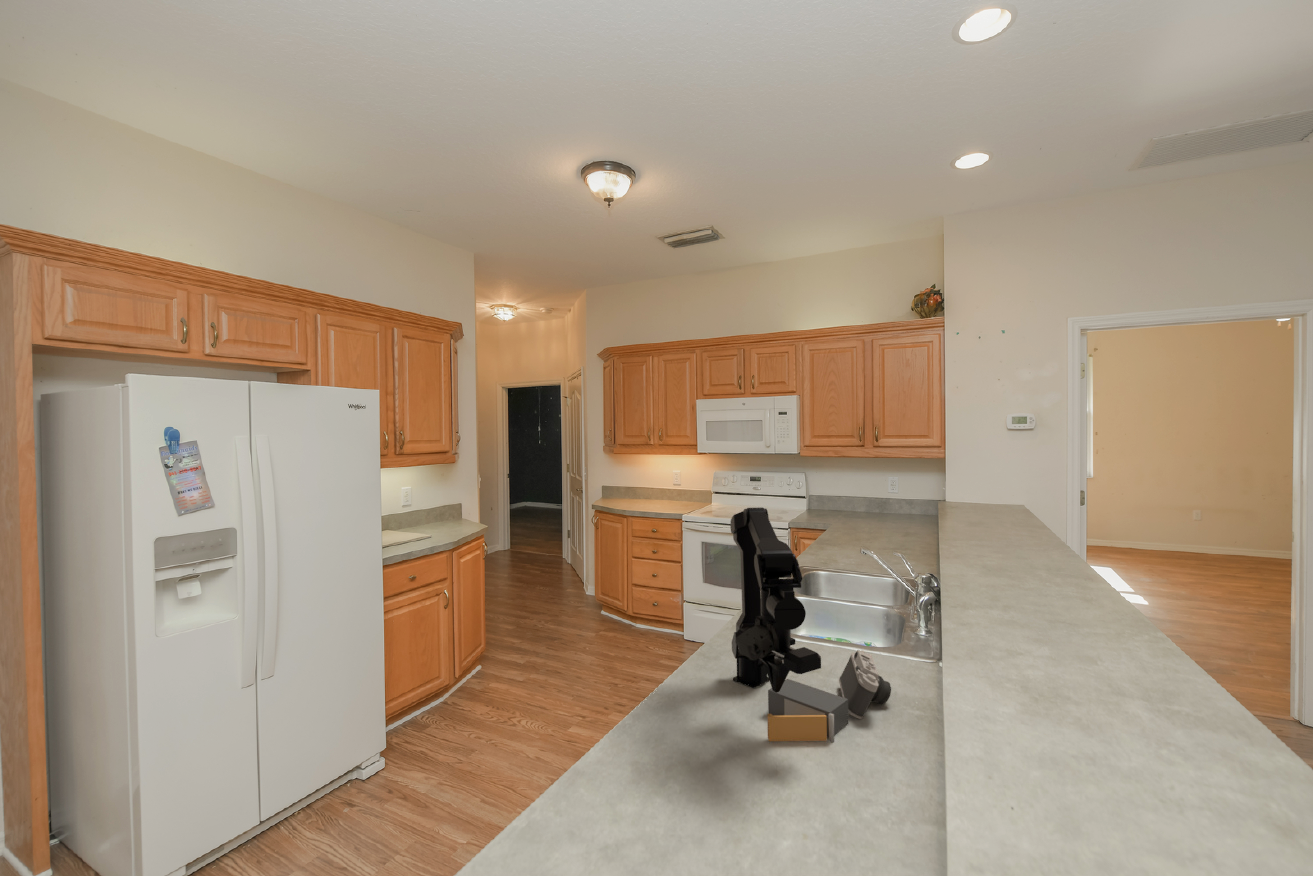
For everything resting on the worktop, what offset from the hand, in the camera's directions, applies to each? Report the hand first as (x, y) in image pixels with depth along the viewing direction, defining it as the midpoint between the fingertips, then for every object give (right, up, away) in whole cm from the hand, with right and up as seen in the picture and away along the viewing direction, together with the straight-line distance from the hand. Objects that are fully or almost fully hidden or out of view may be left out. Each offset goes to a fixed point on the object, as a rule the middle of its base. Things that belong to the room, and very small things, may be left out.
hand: (776, 691), depth 110 cm
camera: (+22, -8, +12) cm, 26 cm away
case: (+8, -8, +5) cm, 12 cm away
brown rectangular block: (+3, -8, -3) cm, 9 cm away
